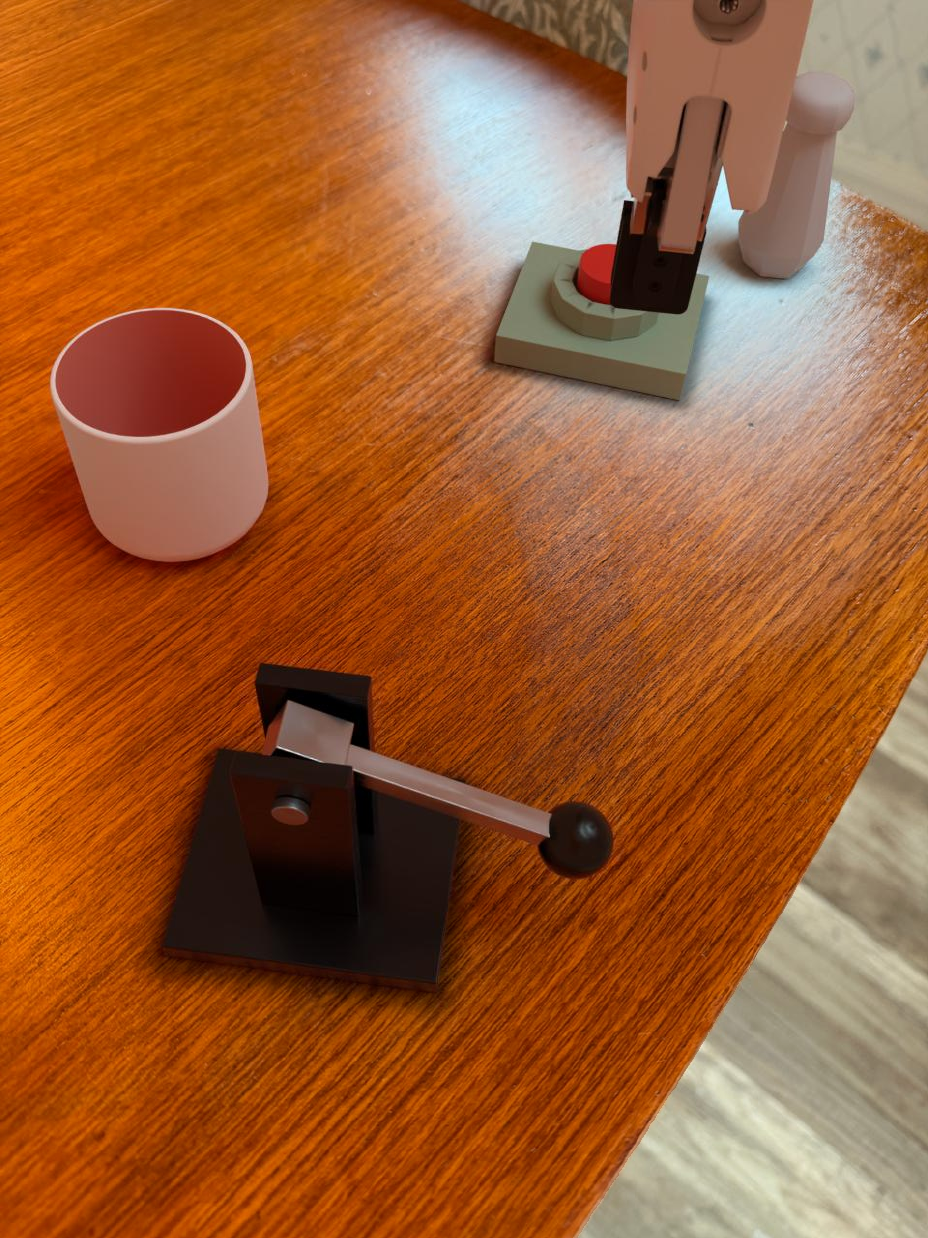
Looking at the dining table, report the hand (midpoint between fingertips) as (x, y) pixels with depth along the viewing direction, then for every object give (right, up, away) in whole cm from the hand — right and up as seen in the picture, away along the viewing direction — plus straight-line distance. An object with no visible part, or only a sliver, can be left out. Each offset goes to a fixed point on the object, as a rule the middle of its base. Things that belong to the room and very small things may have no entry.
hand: (647, 298), depth 50 cm
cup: (-24, -7, +19) cm, 31 cm away
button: (+2, +8, +26) cm, 27 cm away
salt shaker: (+14, +12, +34) cm, 39 cm away
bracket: (-14, -25, +6) cm, 29 cm away
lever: (-9, -21, 0) cm, 23 cm away
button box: (+1, +6, +29) cm, 30 cm away
